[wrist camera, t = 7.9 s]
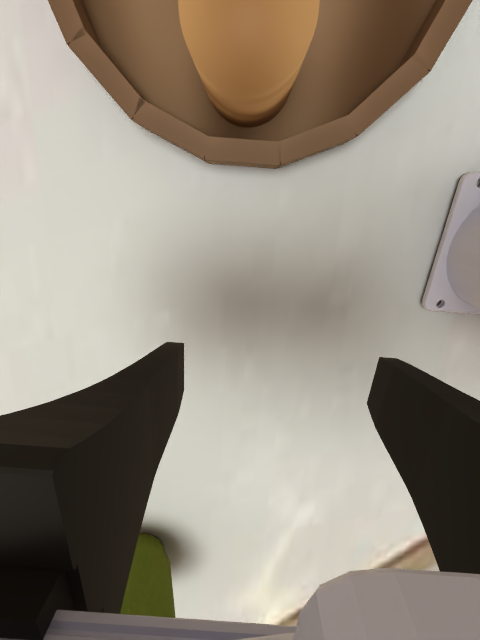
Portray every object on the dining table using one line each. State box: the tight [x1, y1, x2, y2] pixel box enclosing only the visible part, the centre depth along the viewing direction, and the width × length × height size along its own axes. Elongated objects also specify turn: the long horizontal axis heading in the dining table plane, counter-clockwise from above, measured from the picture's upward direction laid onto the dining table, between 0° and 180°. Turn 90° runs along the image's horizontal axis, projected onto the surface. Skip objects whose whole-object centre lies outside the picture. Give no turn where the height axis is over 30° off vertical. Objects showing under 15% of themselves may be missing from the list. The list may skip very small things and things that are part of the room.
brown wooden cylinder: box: [178, 0, 320, 128], centre depth 12 cm, size 4×4×6 cm
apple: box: [120, 533, 175, 618], centre depth 25 cm, size 9×8×12 cm
